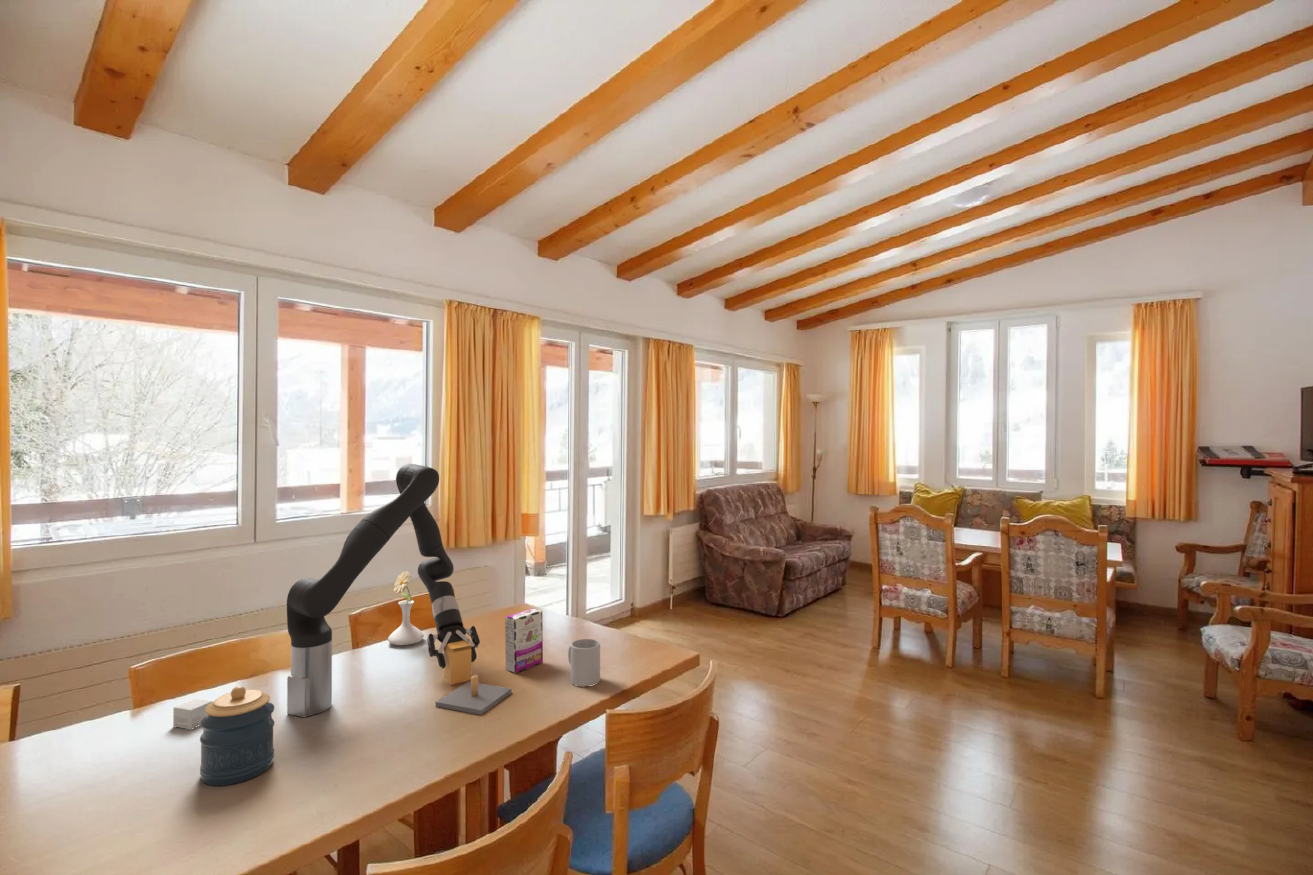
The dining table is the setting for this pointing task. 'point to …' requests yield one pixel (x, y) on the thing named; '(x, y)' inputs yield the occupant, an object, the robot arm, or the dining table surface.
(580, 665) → the mug
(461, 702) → the peg plate
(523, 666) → the candy bar box
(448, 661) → the upright tan block
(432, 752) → the dining table surface
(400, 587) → the flower in vase
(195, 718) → the small box
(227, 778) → the canister
